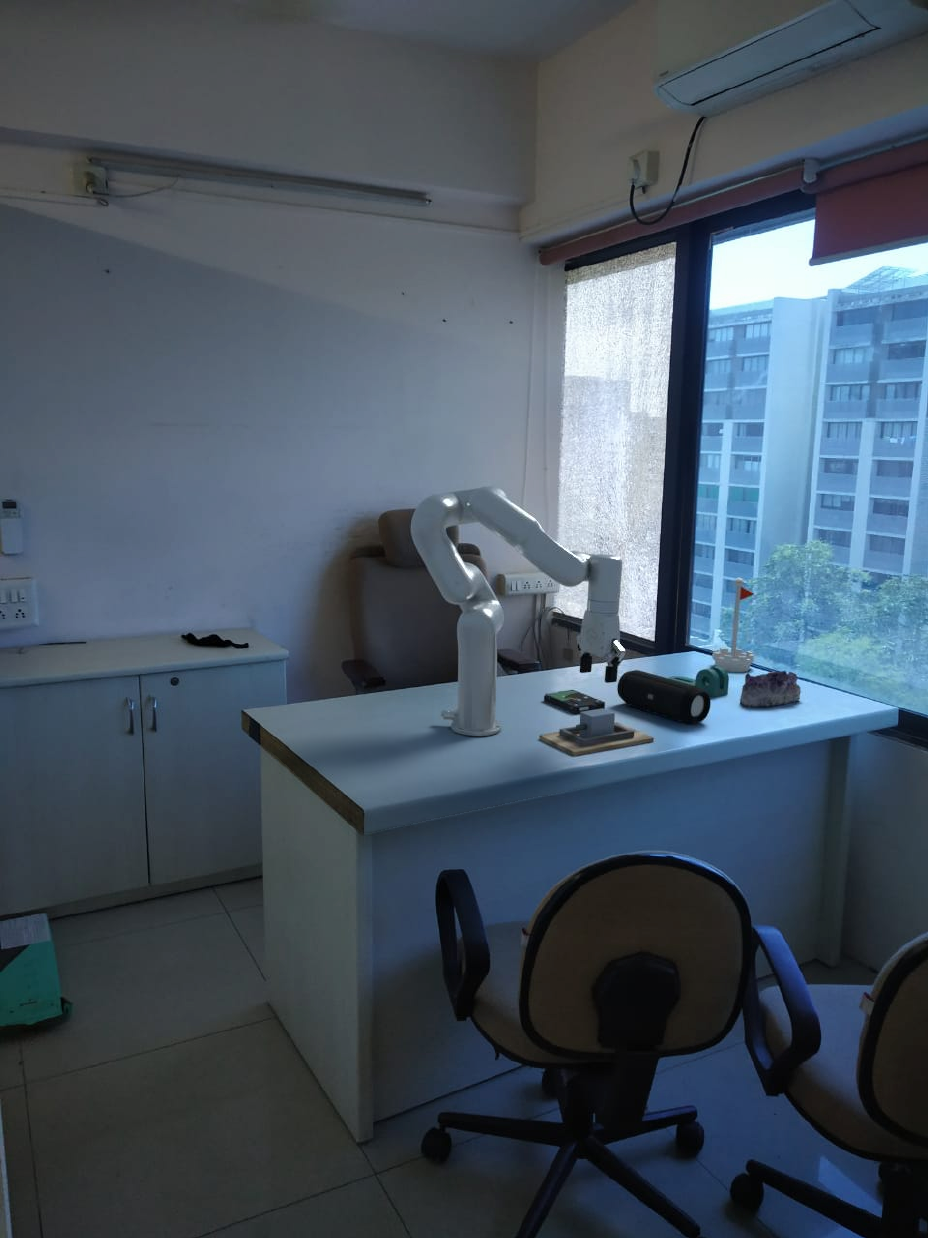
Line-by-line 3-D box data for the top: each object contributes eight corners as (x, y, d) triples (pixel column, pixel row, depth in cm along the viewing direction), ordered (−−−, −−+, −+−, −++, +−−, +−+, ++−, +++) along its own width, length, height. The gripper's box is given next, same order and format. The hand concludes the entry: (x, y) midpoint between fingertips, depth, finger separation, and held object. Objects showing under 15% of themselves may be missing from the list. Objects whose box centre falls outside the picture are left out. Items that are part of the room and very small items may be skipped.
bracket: (727, 694, 268) (729, 668, 267) (714, 698, 264) (716, 672, 263) (676, 682, 282) (678, 657, 280) (663, 685, 277) (664, 660, 276)
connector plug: (571, 737, 222) (572, 713, 221) (605, 731, 227) (606, 707, 226) (582, 742, 218) (583, 718, 217) (617, 736, 223) (618, 712, 222)
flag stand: (713, 671, 296) (720, 579, 290) (709, 662, 308) (716, 574, 303) (755, 674, 294) (763, 581, 288) (749, 664, 306) (757, 575, 301)
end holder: (539, 738, 223) (539, 729, 223) (616, 726, 235) (617, 716, 234) (573, 756, 211) (574, 745, 211) (653, 741, 223) (654, 731, 223)
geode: (766, 713, 250) (763, 677, 249) (730, 709, 259) (728, 674, 258) (809, 699, 262) (807, 665, 261) (774, 696, 271) (772, 662, 270)
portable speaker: (614, 705, 254) (615, 670, 252) (638, 700, 260) (640, 666, 258) (686, 729, 234) (689, 691, 232) (711, 722, 240) (714, 685, 238)
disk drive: (605, 712, 250) (572, 698, 262) (606, 702, 249) (572, 688, 261) (575, 716, 244) (542, 702, 257) (575, 706, 244) (543, 692, 256)
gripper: (568, 601, 222) (563, 670, 226) (613, 614, 208) (608, 687, 211) (592, 600, 226) (588, 667, 229) (639, 612, 212) (633, 684, 215)
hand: (597, 677), depth 220 cm, fingers open, 9 cm apart
